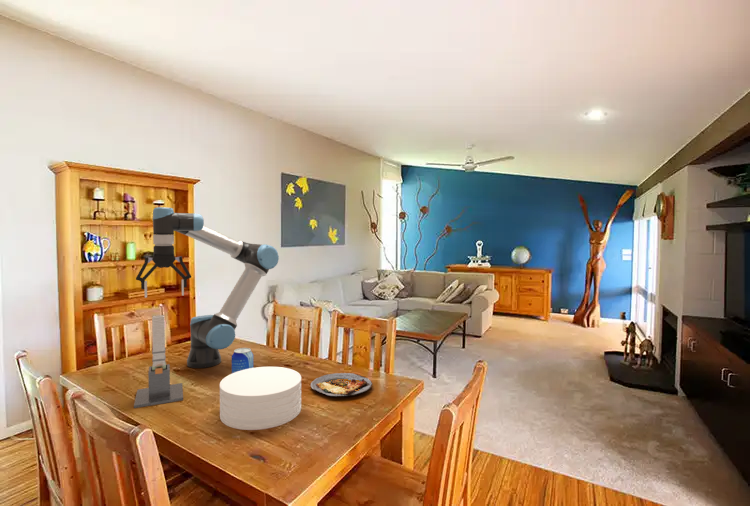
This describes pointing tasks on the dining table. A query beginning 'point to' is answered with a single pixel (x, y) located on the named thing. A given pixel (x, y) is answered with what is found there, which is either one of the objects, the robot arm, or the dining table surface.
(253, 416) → the plate stack
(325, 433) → the dining table surface
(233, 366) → the beer can
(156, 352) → the column
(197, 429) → the dining table surface
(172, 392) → the stand
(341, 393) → the food plate
